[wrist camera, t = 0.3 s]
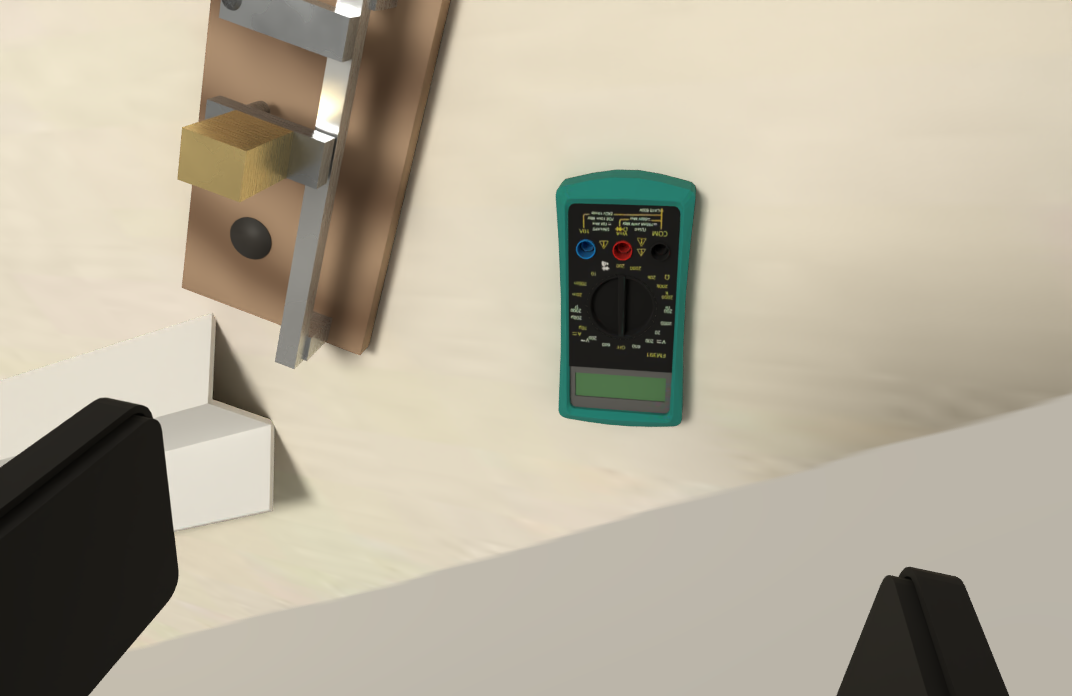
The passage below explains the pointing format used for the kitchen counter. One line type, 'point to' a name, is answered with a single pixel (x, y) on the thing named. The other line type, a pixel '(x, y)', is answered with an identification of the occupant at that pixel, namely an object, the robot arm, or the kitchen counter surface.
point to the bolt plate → (355, 170)
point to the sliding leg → (250, 150)
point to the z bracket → (157, 417)
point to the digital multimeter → (623, 296)
